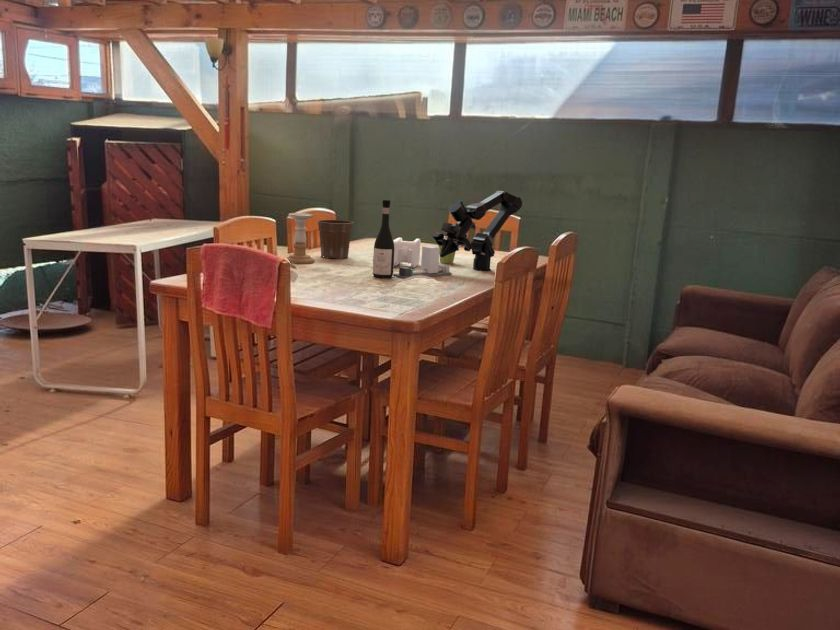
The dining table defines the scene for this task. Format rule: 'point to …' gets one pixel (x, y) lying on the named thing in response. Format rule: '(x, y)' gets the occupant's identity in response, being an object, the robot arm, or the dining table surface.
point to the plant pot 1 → (335, 237)
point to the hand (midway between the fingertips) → (441, 256)
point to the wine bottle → (384, 247)
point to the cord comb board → (422, 272)
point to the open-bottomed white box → (430, 259)
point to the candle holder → (300, 239)
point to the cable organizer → (406, 252)
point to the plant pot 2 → (447, 257)
